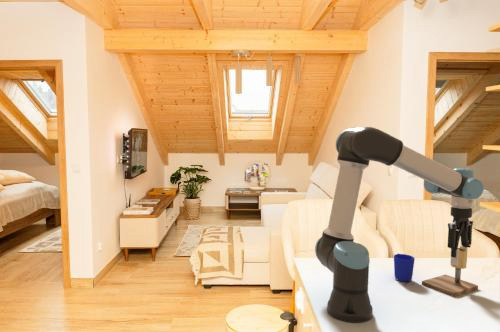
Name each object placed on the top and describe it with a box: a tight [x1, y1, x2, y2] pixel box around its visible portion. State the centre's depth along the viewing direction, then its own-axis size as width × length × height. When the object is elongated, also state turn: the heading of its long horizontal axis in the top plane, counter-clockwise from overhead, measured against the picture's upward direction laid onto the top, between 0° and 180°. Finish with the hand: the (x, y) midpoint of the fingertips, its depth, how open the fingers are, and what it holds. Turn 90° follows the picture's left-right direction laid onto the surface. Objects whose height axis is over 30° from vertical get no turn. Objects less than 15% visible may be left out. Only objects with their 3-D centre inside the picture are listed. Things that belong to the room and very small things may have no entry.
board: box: [421, 274, 479, 298], centre depth 155 cm, size 16×14×2 cm
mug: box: [393, 253, 416, 283], centre depth 164 cm, size 8×12×10 cm
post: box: [454, 267, 462, 285], centre depth 154 cm, size 3×3×8 cm
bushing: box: [450, 247, 468, 270], centre depth 154 cm, size 5×5×7 cm
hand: (458, 263), depth 154 cm, fingers closed on bushing, 5 cm apart
